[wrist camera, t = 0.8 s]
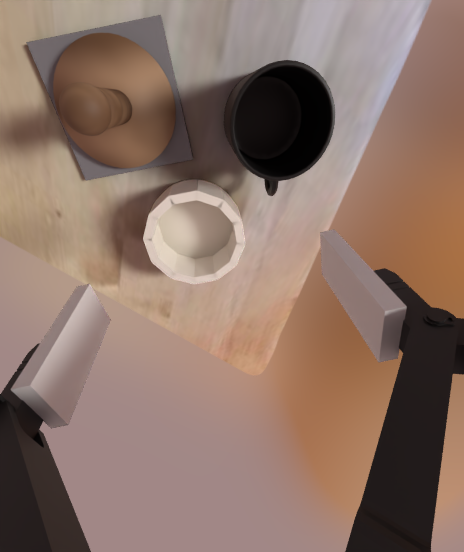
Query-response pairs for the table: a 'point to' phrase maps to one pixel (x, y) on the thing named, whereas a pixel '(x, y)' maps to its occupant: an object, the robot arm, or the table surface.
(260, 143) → the mug
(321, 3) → the table surface
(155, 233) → the bowl
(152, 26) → the mat
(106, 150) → the lid
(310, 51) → the table surface
